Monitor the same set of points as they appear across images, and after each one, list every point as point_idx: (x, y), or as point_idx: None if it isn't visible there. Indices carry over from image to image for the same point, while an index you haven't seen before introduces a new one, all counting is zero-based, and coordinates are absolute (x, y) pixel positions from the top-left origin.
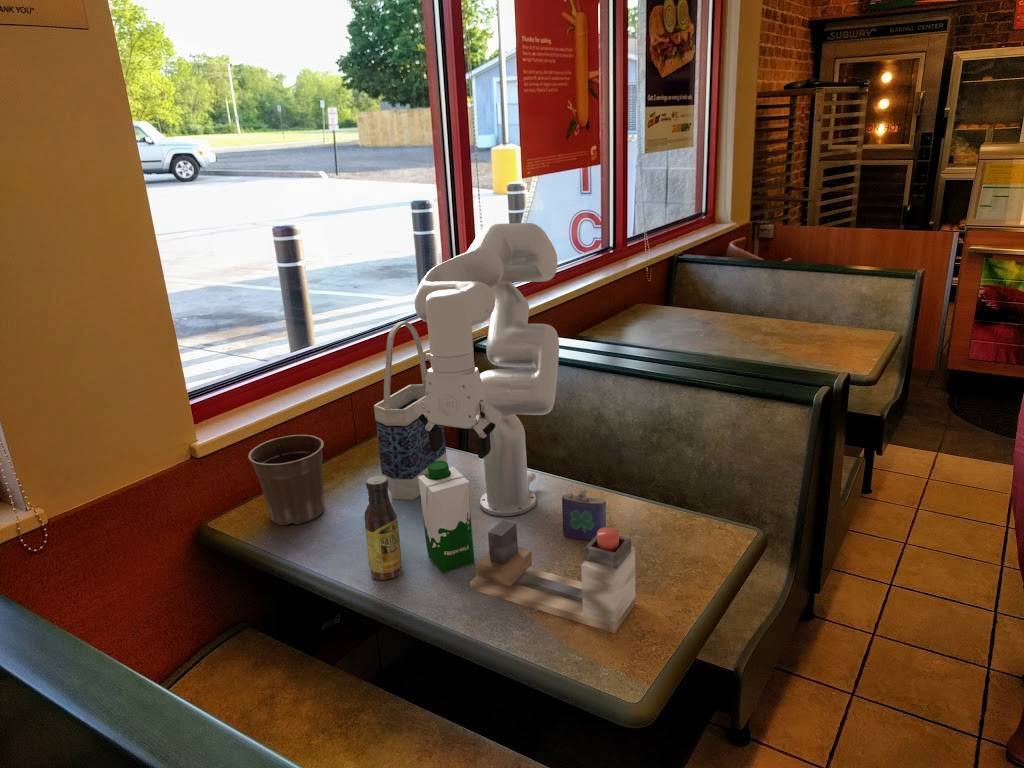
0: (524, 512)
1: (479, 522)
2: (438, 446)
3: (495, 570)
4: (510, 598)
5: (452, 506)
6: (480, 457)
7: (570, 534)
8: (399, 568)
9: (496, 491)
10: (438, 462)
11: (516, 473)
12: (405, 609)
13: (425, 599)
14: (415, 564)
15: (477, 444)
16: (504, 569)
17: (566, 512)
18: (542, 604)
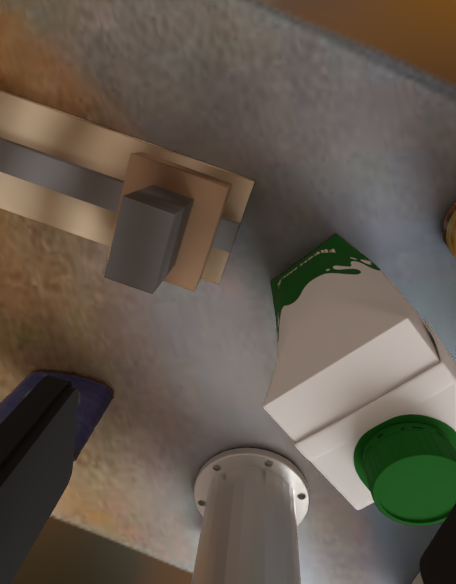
0: (208, 460)
1: None
2: (454, 543)
3: (173, 167)
4: (151, 144)
5: (318, 315)
6: (53, 379)
7: (92, 384)
8: (448, 223)
9: (262, 501)
10: (423, 515)
11: (209, 546)
12: (398, 72)
13: (355, 124)
14: (410, 265)
15: (4, 476)
16: (145, 163)
17: (77, 419)
18: (66, 115)
